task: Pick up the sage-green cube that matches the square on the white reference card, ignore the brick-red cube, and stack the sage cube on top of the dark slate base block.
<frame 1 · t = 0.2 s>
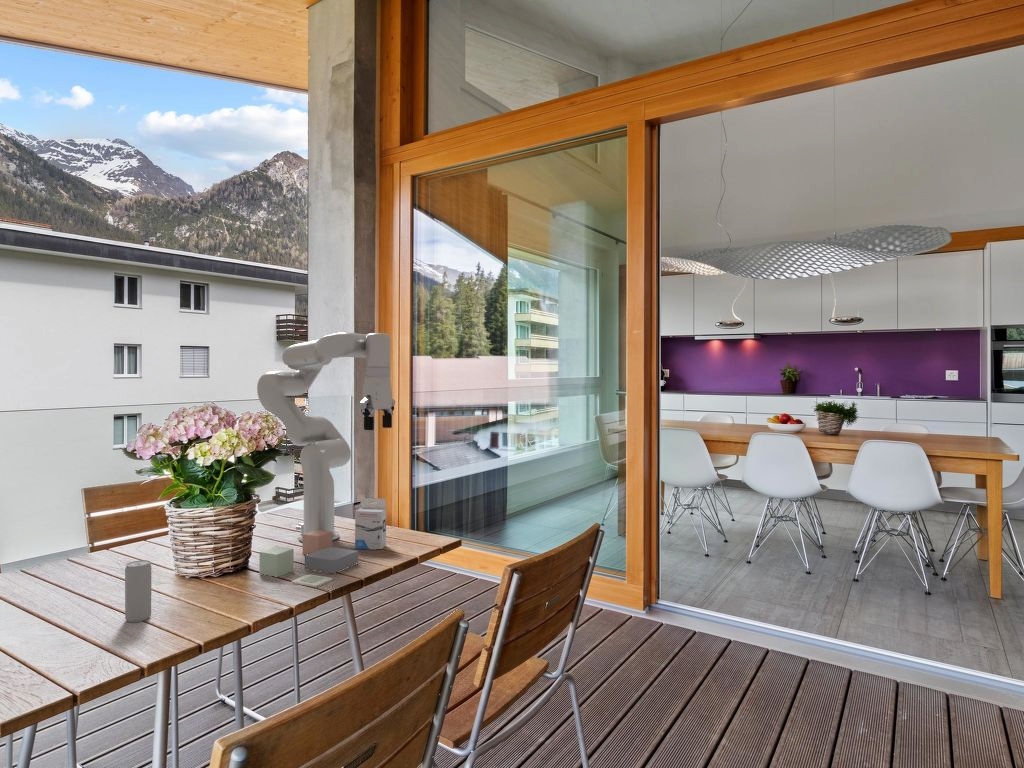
hand: (378, 428, 186), 36 cm above the table, tool pointing down, fingers open, 9 cm apart
sage cube: (276, 572, 161), on the table
beverage can: (138, 620, 129), on the table
slate base block: (331, 567, 166), on the table
reference card: (312, 581, 154), on the table
ink box: (370, 548, 185), on the table
brick cube: (317, 553, 180), on the table
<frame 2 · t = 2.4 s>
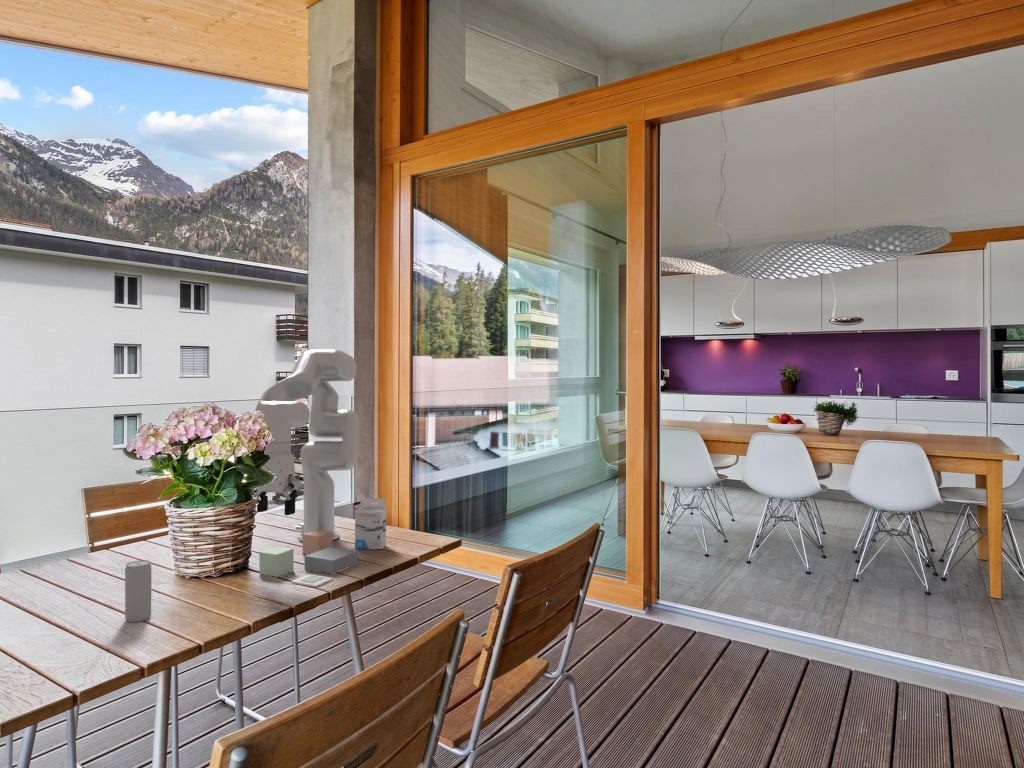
hand: (275, 512, 161), 16 cm above the table, tool pointing down, fingers open, 9 cm apart
nothing on the table moved.
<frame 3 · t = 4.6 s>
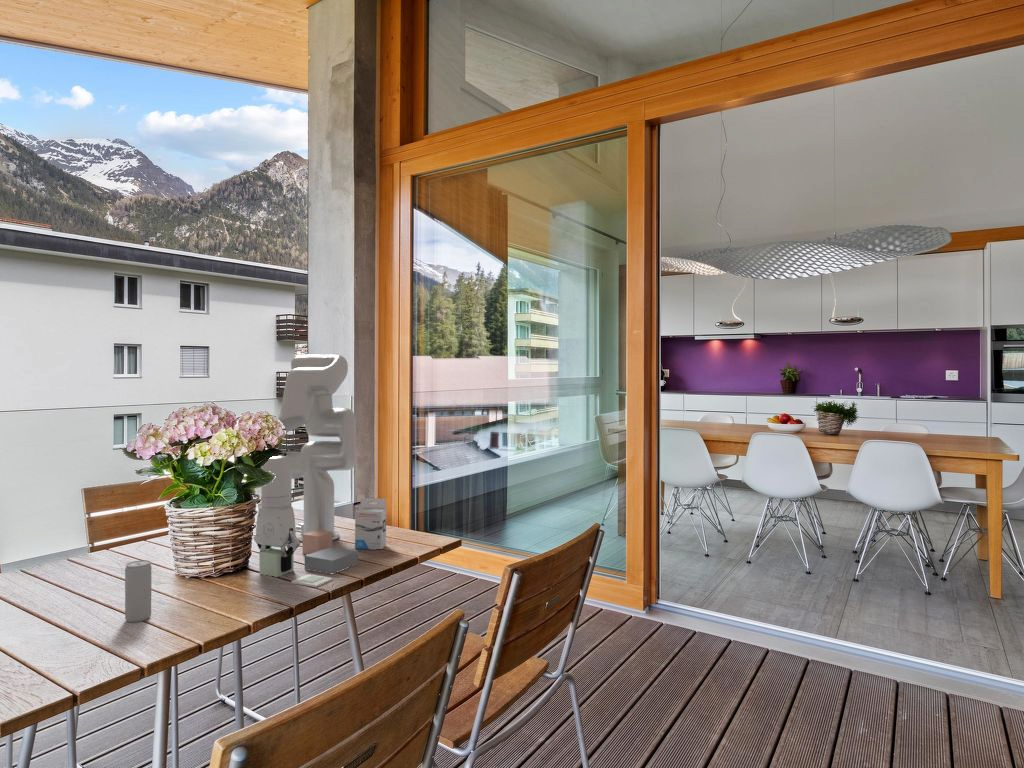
hand: (276, 568, 161), 1 cm above the table, tool pointing down, fingers closed on sage cube, 6 cm apart
sage cube: (276, 572, 161), on the table, touching gripper
everything else where it was.
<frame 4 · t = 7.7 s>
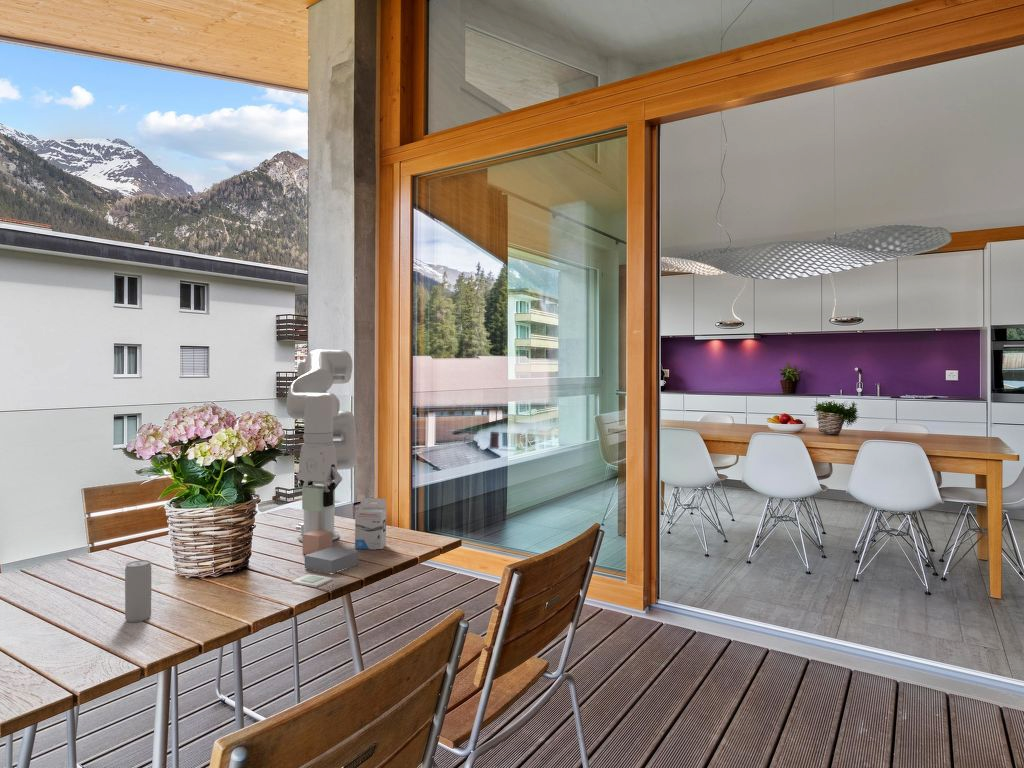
hand: (318, 504, 165), 17 cm above the table, tool pointing down, fingers closed on sage cube, 6 cm apart
sage cube: (318, 508, 165), point 16 cm above the table, touching gripper
everything else where it was.
when the fingers open (6 cm above the table, at t = 11.2 s): sage cube drops 1 cm, resting on slate base block.
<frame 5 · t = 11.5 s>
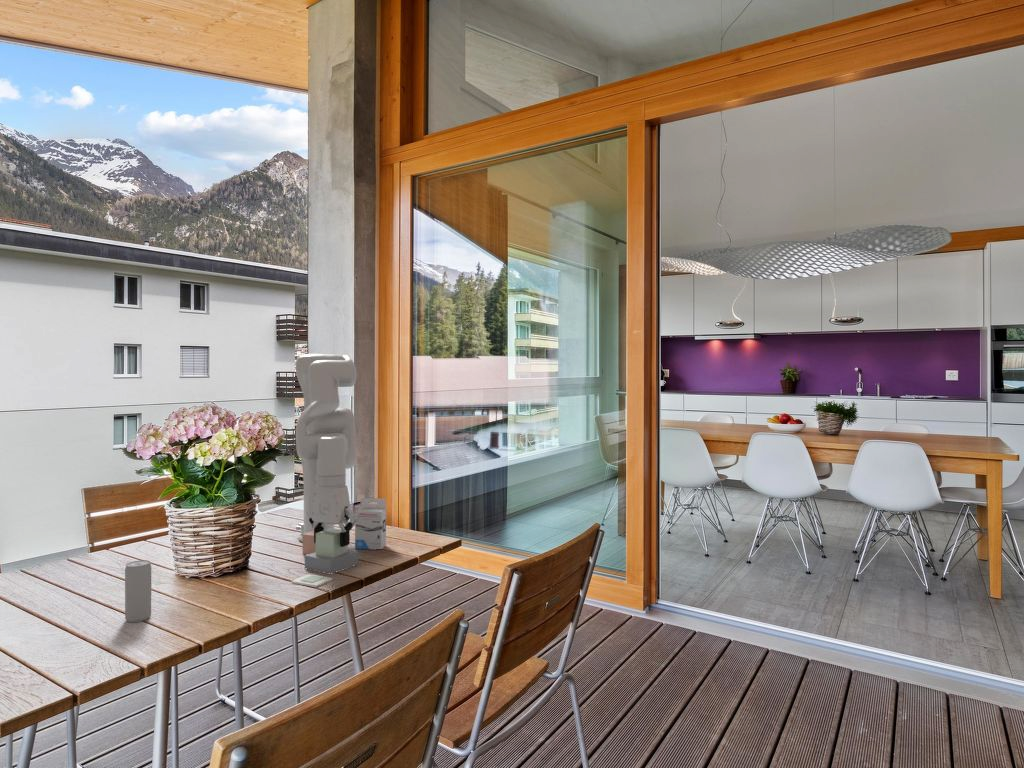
hand: (331, 543, 166), 6 cm above the table, tool pointing down, fingers open, 8 cm apart
sage cube: (331, 553, 166), point 4 cm above the table, touching slate base block
slate base block: (331, 568, 166), on the table, touching sage cube
everything else where it was.
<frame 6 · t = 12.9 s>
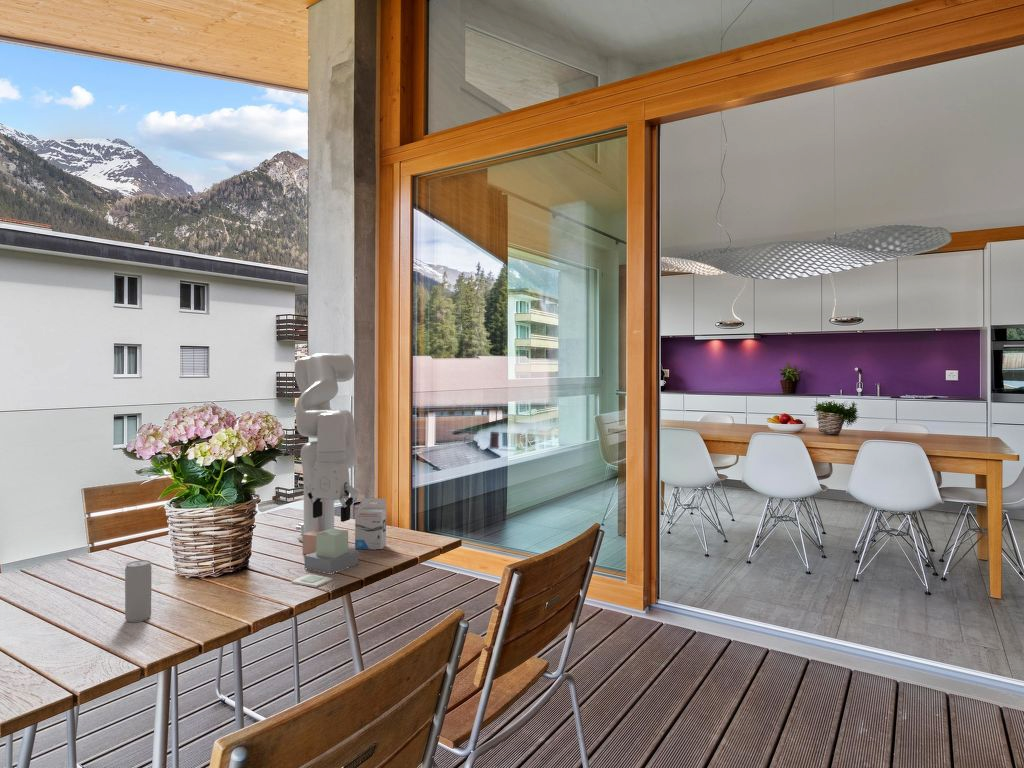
hand: (331, 518, 167), 13 cm above the table, tool pointing down, fingers open, 9 cm apart
sage cube: (332, 553, 166), point 4 cm above the table
slate base block: (331, 568, 166), on the table
everything else where it was.
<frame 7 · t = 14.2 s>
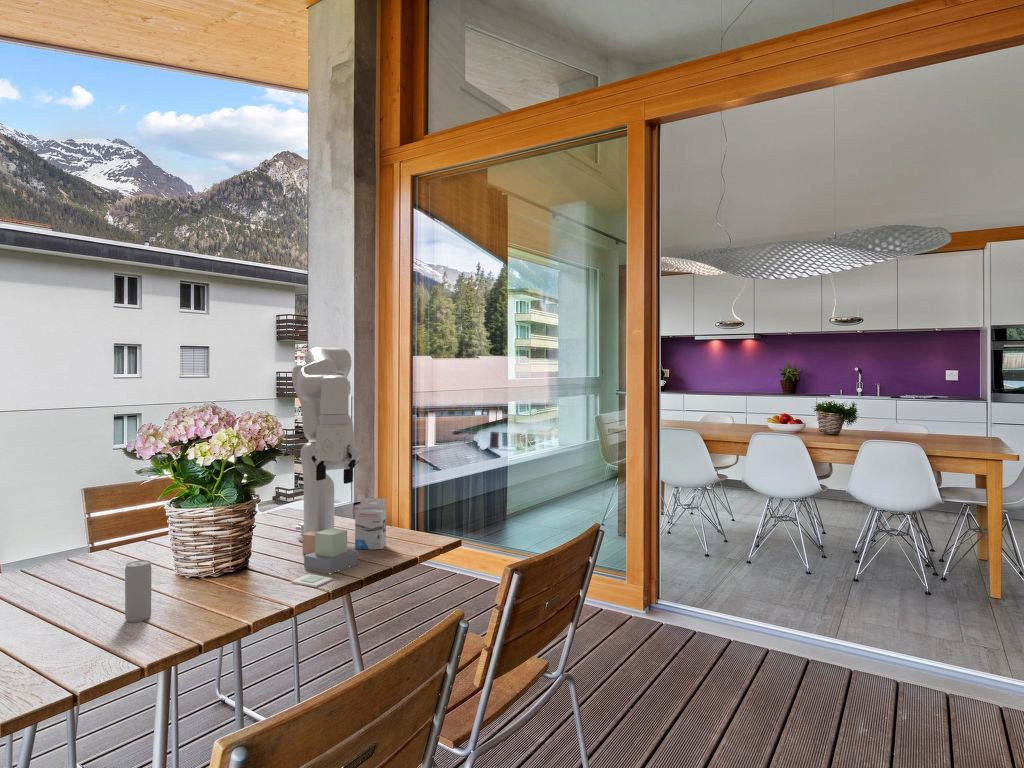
hand: (334, 481, 168), 23 cm above the table, tool pointing down, fingers open, 9 cm apart
sage cube: (331, 553, 166), point 4 cm above the table, touching slate base block
slate base block: (331, 567, 166), on the table, touching sage cube
everything else where it was.
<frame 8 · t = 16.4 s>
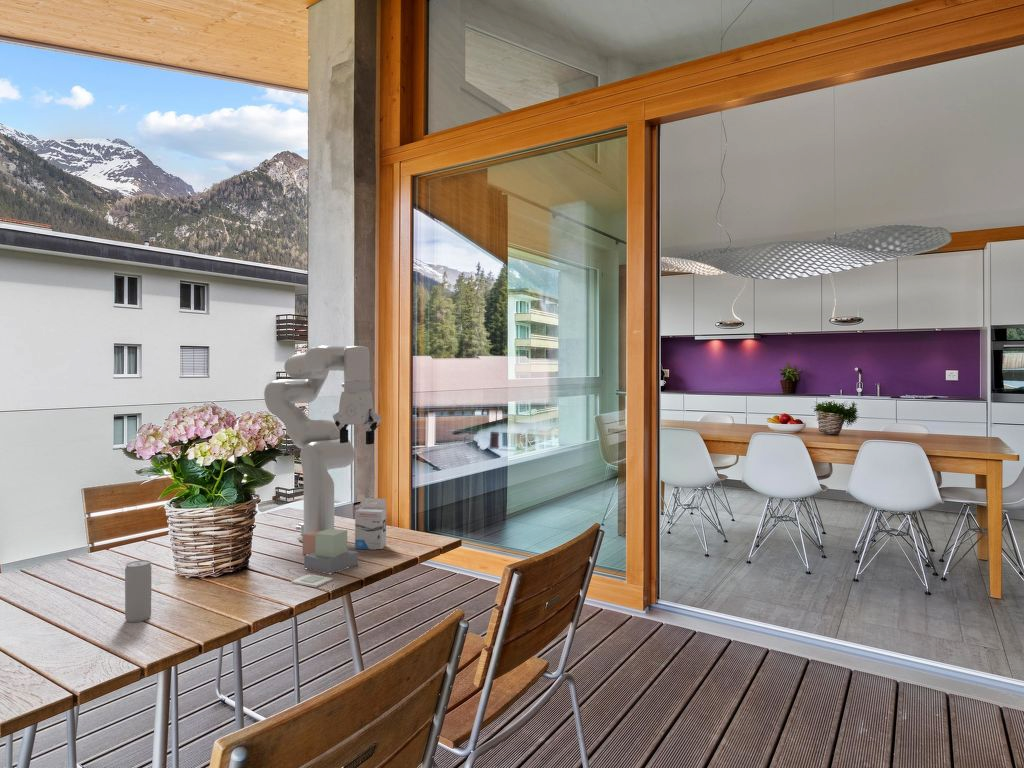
hand: (356, 443, 182), 32 cm above the table, tool pointing down, fingers open, 9 cm apart
sage cube: (331, 553, 166), point 4 cm above the table
slate base block: (331, 568, 166), on the table
everything else where it was.
at the end: sage cube 0.1 cm off-centre on the slate base block, point 4.0 cm above the slate base block's base; sage cube tilted 0°; the gripper is holding nothing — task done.
